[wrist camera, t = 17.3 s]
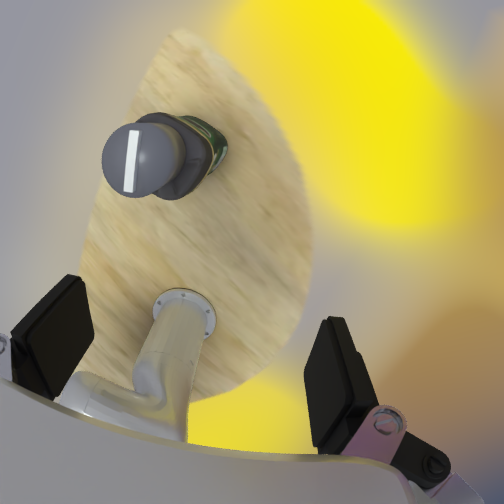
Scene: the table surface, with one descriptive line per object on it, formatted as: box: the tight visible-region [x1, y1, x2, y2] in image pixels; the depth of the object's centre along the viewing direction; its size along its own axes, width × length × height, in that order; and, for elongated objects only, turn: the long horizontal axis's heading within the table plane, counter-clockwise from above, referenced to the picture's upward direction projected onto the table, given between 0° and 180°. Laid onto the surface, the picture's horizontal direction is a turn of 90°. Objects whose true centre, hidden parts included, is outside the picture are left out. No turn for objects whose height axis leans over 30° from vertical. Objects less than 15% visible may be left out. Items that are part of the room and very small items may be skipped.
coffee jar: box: [135, 112, 227, 200], centre depth 33 cm, size 10×8×19 cm
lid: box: [102, 123, 186, 198], centre depth 22 cm, size 6×6×6 cm
